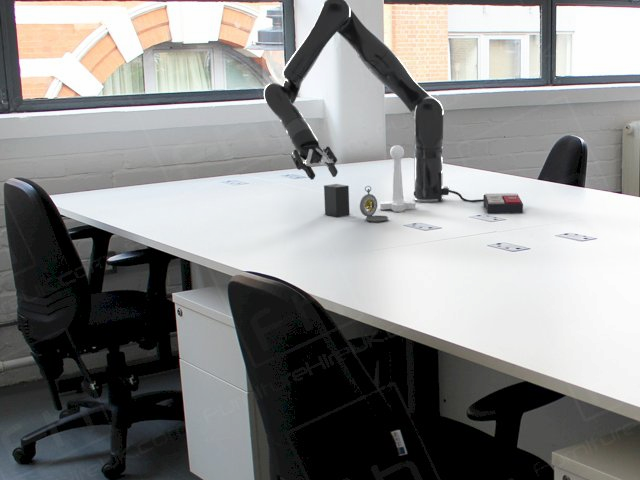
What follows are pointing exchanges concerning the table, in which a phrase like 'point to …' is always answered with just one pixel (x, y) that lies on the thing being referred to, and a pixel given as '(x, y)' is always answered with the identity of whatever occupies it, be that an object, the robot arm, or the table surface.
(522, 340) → the table surface
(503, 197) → the control box
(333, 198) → the dark grey rectangular block
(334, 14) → the robot arm
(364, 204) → the pocket watch
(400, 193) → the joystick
